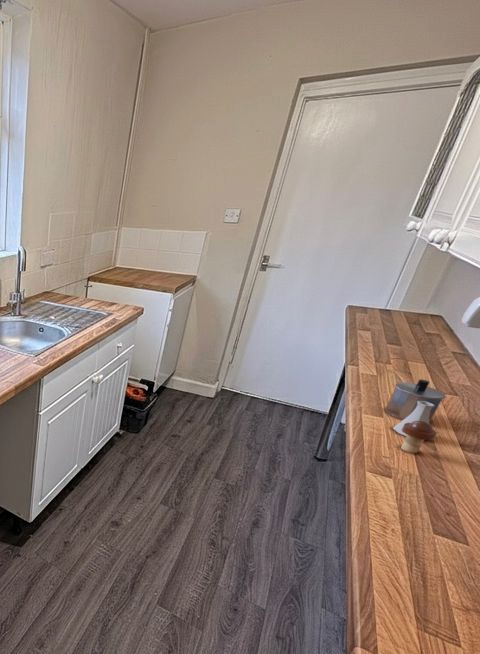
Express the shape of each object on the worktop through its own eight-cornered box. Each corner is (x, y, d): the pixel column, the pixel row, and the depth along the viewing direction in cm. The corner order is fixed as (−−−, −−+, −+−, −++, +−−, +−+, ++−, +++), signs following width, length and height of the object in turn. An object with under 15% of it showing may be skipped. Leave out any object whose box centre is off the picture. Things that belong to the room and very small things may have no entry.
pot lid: (438, 391, 127) (444, 379, 125) (449, 404, 119) (455, 391, 117) (390, 382, 132) (396, 371, 131) (397, 394, 124) (403, 382, 123)
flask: (386, 427, 122) (400, 397, 118) (411, 427, 122) (426, 397, 118) (410, 440, 115) (425, 409, 112) (436, 441, 115) (453, 409, 111)
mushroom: (421, 448, 112) (436, 420, 108) (427, 459, 107) (443, 430, 104) (391, 441, 115) (405, 414, 112) (396, 451, 111) (410, 423, 107)
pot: (425, 413, 130) (437, 389, 126) (434, 427, 122) (447, 401, 119) (382, 405, 135) (393, 381, 132) (388, 417, 128) (400, 393, 124)
